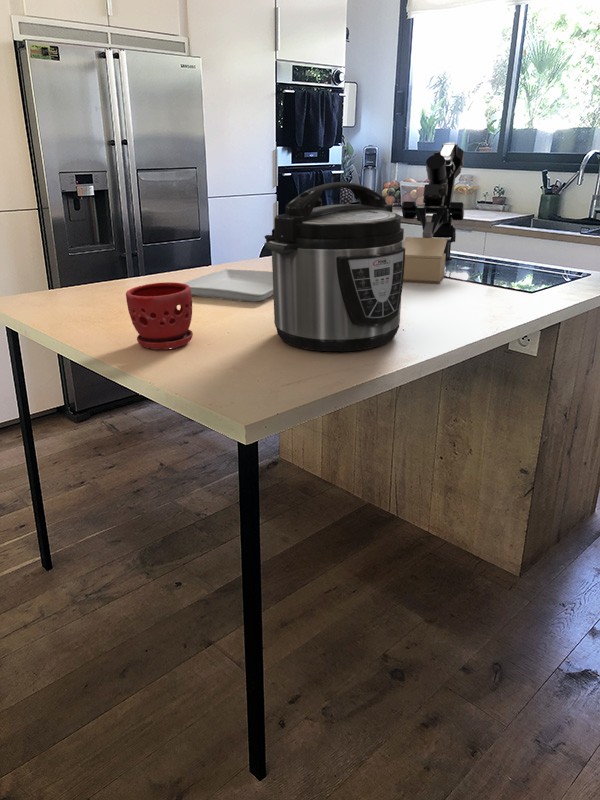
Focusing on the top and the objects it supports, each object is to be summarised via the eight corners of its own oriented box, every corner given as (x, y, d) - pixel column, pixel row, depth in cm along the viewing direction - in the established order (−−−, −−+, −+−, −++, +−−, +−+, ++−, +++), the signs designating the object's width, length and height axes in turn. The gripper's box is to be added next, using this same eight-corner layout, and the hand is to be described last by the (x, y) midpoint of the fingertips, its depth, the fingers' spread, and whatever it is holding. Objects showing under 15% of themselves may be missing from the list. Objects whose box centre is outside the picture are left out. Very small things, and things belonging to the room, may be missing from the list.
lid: (410, 231, 200) (410, 221, 198) (450, 232, 197) (450, 222, 194) (399, 260, 189) (399, 250, 187) (441, 261, 185) (441, 252, 183)
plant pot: (155, 333, 143) (150, 279, 138) (206, 338, 138) (202, 283, 134) (119, 349, 132) (111, 292, 127) (173, 356, 127) (167, 297, 122)
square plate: (175, 298, 176) (174, 284, 175) (227, 280, 199) (226, 267, 198) (261, 307, 166) (260, 292, 164) (305, 286, 188) (305, 273, 187)
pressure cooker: (269, 360, 124) (263, 188, 112) (265, 322, 150) (260, 180, 138) (421, 355, 126) (431, 185, 114) (391, 318, 152) (397, 177, 140)
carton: (405, 275, 200) (406, 252, 197) (444, 277, 196) (445, 253, 193) (398, 281, 191) (399, 257, 188) (439, 283, 187) (440, 259, 184)
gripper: (404, 173, 196) (395, 214, 191) (466, 173, 190) (458, 216, 185) (407, 198, 206) (399, 237, 201) (466, 198, 200) (459, 240, 195)
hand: (428, 232), depth 195 cm, fingers closed on lid, 2 cm apart
